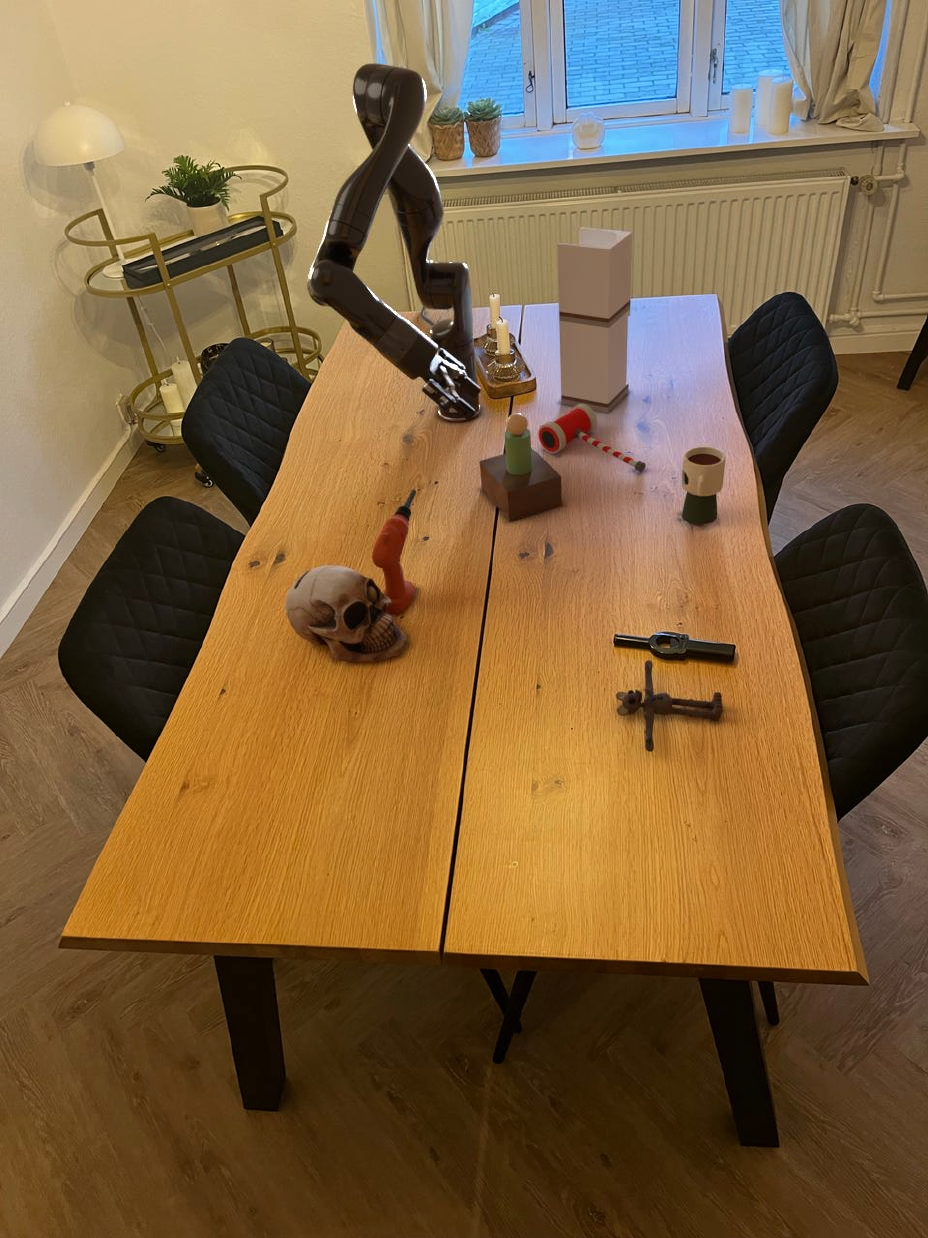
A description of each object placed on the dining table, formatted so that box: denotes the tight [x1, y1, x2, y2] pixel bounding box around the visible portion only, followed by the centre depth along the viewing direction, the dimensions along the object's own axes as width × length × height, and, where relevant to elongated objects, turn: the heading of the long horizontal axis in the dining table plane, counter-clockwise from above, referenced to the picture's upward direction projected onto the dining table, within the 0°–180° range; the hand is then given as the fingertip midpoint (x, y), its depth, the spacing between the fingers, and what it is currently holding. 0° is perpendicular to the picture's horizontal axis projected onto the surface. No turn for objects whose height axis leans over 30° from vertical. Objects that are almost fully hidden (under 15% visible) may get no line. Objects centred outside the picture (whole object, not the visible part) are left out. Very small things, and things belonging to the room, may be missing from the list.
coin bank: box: [285, 564, 408, 663], centre depth 148 cm, size 16×17×13 cm
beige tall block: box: [556, 226, 633, 414], centre depth 197 cm, size 11×11×35 cm
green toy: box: [503, 412, 532, 475], centre depth 171 cm, size 5×5×11 cm
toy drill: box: [371, 489, 417, 614], centre depth 156 cm, size 5×19×15 cm, turn 163°
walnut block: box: [479, 446, 563, 522], centre depth 177 cm, size 13×11×6 cm
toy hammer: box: [537, 404, 646, 473], centre depth 187 cm, size 23×12×6 cm, turn 44°
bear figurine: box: [615, 659, 724, 753], centre depth 131 cm, size 18×4×14 cm
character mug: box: [681, 445, 727, 525], centre depth 164 cm, size 11×7×13 cm, turn 164°
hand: (475, 404), depth 167 cm, fingers open, 8 cm apart
